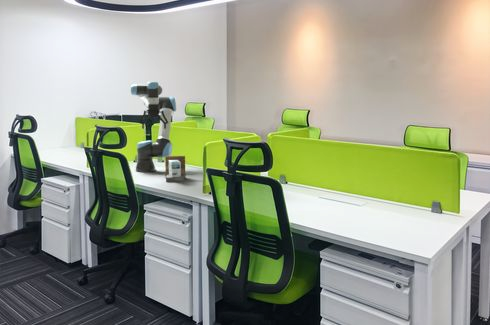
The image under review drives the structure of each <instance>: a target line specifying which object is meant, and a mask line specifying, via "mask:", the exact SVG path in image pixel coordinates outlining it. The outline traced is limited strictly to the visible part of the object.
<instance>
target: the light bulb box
mask: <svg viewBox="0 0 490 325" xmlns="http://www.w3.org/2000/svg"><path fill="white" fill-rule="evenodd" d="M168 161H169V175H170V176H171V177H181V162H180V161H178V160H168Z"/></svg>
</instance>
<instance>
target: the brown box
mask: <svg viewBox="0 0 490 325" xmlns="http://www.w3.org/2000/svg"><path fill="white" fill-rule="evenodd" d="M164 160H165V164H164V165H165V182H166V183H169V182H170V183H174V182H177V183H179V182H182V183H183V182H184V181H185V179H186V155H170V156H165V158H164ZM168 160H178V161H180V162H181V177H171V176H170V175H169V161H168Z"/></svg>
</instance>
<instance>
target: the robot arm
mask: <svg viewBox="0 0 490 325" xmlns="http://www.w3.org/2000/svg"><path fill="white" fill-rule="evenodd" d="M162 93H163V88H162V86H161V85H159V82H158V81H148V82H147V84H132V85H131V86H130V94H131V95H132V96H137V97H138V98H139V99H140V100H141V101H142V103H143V105H144V106H145V107H146V108H147V109H148V110H143V115H142V116H141V119H140V120H139V124H140V125H141V126H142V127H141V128H142V129H143V134H146V122H147V121H148V119H150V118H156V117H158V119H159V127H158V128H159V129H158V136H157V138H156V139H155V142H153V140H144V141H140V142H138V143H137V146H136V149H137V150H136V152H137V154H136V155H137V161H136V165H135V172H139V173H141V172H142V173H147V172H154V171H156V166H155V164H154V160H153V158H164V159H165V156H172V153H173V144H172V142H171V140H170V134H171V133H170V132H171V125H172V124H171V123H172V116H173V115H174V112H177V102H176V99H175V97H173V96H160V95H161V94H162ZM147 114H148V116H147V117H146V118H145V116H146V115H147Z"/></svg>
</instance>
